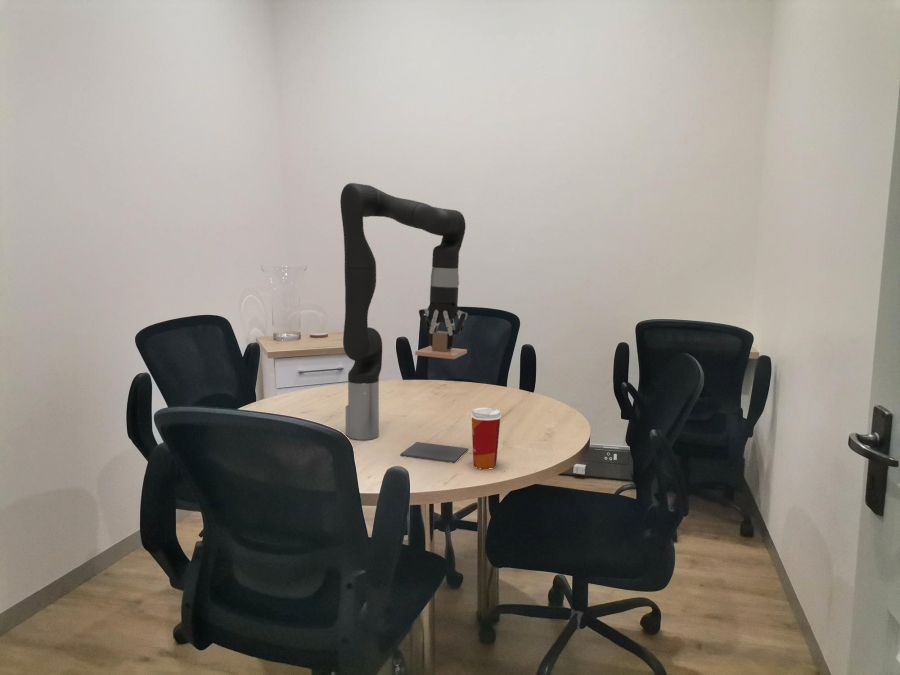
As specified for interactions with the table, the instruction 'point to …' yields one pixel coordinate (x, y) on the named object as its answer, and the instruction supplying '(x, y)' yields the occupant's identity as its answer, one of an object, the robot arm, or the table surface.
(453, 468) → the table surface
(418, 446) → the mat
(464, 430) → the table surface
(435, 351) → the cover
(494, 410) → the coffee cup
